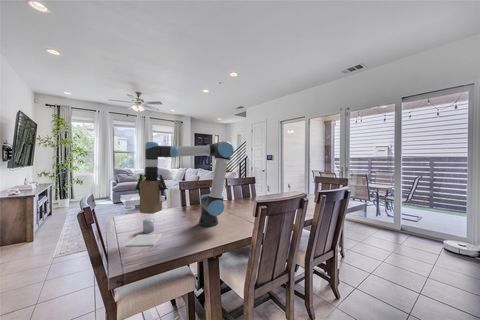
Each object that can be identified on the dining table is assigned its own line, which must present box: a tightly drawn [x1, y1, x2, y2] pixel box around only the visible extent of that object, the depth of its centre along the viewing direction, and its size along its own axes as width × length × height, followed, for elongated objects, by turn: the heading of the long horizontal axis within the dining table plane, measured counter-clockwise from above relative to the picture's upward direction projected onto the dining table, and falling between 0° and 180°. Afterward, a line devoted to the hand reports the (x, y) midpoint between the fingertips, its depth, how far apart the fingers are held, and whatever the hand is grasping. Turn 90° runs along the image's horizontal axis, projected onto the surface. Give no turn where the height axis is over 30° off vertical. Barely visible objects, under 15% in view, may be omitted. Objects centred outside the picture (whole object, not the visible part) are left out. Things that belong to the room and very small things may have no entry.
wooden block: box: [139, 179, 163, 215], centre depth 130 cm, size 10×10×20 cm
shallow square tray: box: [125, 233, 163, 247], centre depth 129 cm, size 16×16×1 cm
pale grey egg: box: [142, 218, 155, 234], centre depth 144 cm, size 7×7×8 cm
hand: (151, 200), depth 130 cm, fingers closed on wooden block, 11 cm apart
